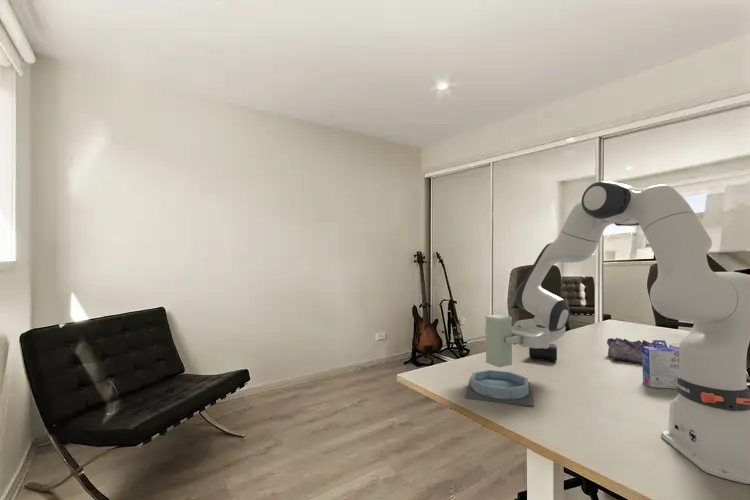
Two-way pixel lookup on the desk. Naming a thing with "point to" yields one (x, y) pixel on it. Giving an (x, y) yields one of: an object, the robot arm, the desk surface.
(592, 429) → the desk surface
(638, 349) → the geode
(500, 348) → the tea tin
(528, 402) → the mat
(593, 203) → the robot arm
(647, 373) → the ink cartridge box
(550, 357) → the end cap
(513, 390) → the bowl
